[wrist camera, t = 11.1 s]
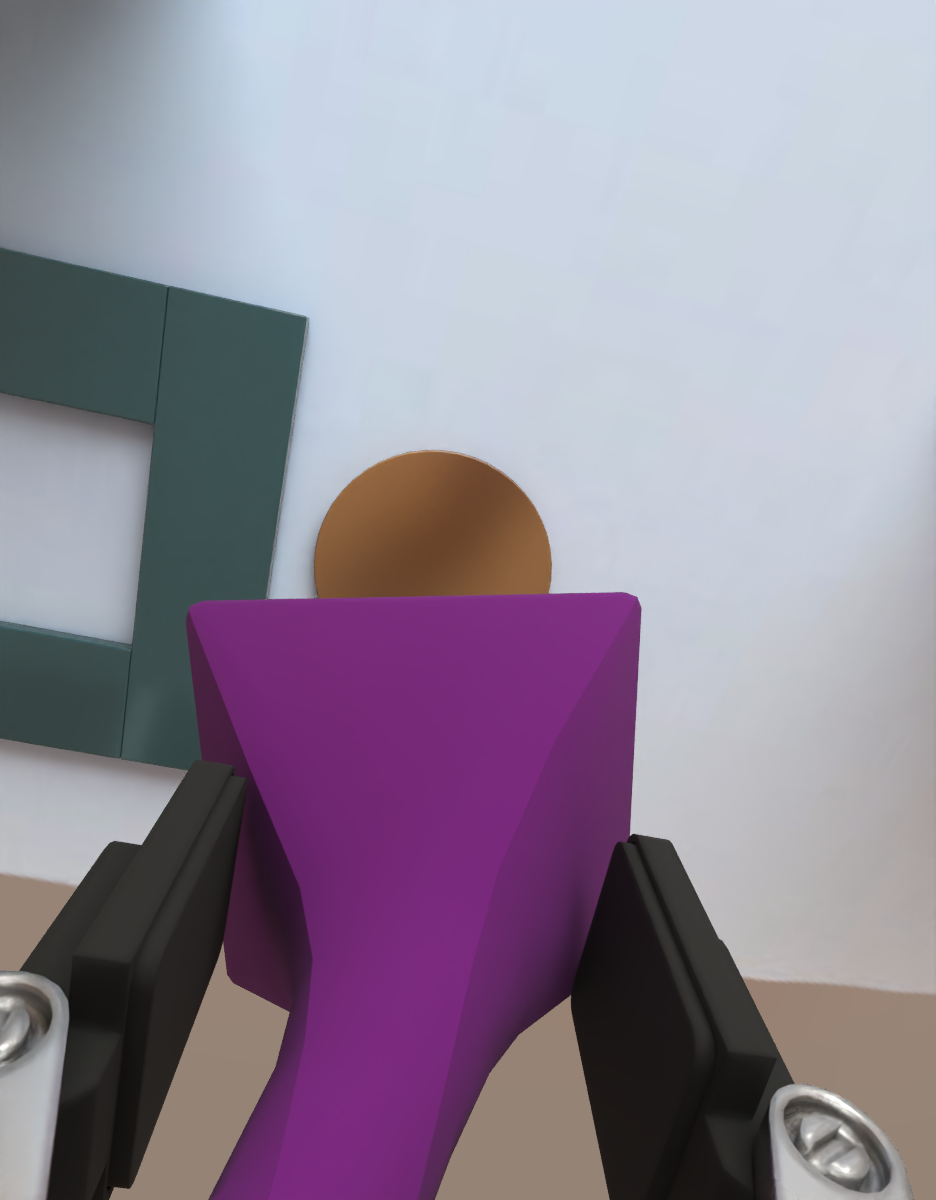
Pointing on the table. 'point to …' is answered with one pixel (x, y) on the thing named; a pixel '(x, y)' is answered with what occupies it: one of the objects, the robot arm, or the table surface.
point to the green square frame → (151, 487)
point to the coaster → (432, 532)
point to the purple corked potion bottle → (408, 855)
